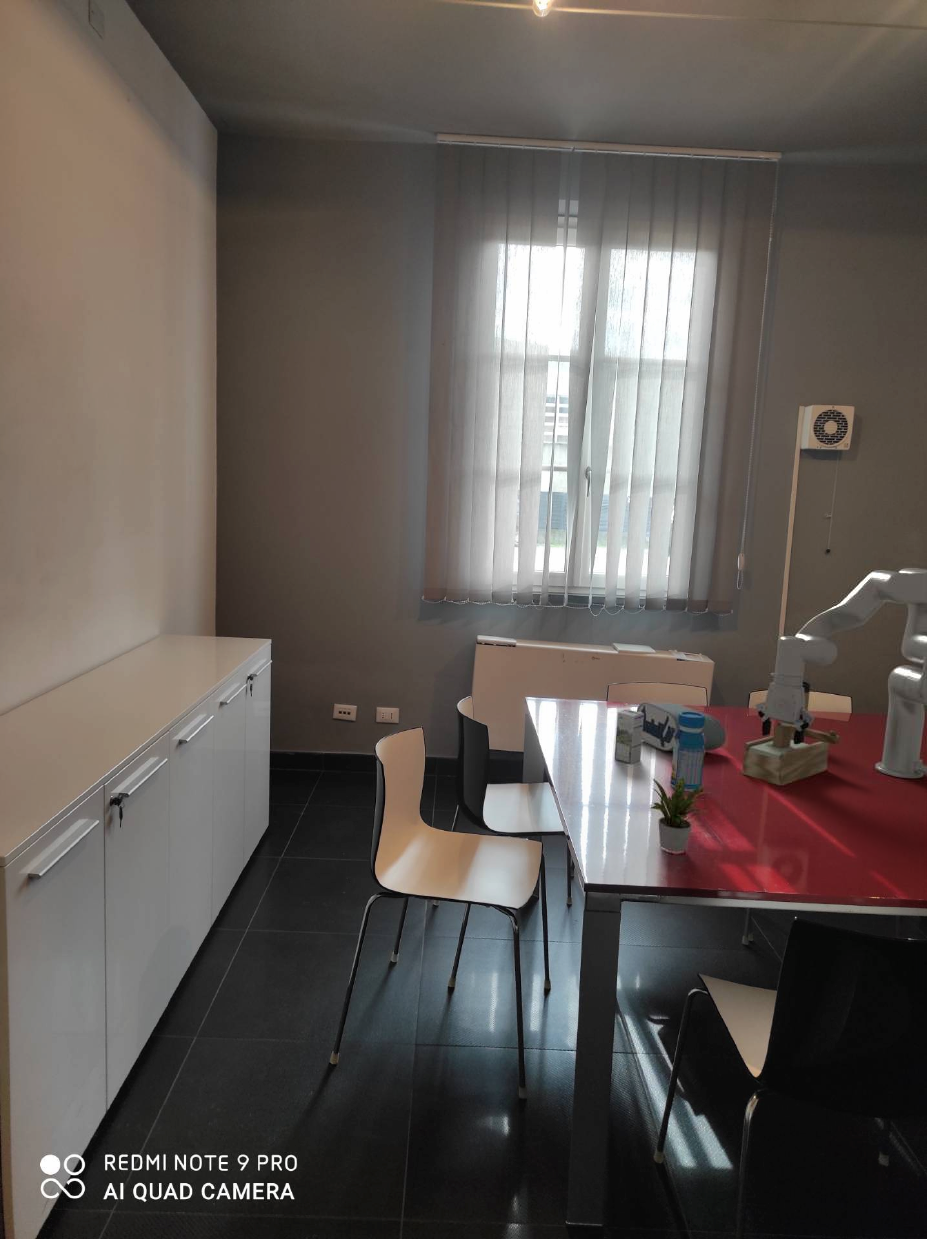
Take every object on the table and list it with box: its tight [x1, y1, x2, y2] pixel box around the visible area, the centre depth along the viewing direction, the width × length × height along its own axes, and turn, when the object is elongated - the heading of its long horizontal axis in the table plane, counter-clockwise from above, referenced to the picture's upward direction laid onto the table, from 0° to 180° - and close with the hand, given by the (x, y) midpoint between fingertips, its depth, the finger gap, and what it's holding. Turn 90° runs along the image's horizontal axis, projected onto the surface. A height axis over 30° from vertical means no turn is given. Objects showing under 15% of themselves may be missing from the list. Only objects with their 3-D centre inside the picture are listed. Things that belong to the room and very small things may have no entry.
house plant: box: [649, 777, 713, 851], centre depth 185 cm, size 14×14×16 cm
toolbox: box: [741, 733, 830, 786], centre depth 246 cm, size 12×25×9 cm, turn 130°
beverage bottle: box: [669, 712, 706, 792], centre depth 228 cm, size 8×8×20 cm
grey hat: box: [636, 702, 727, 752], centre depth 267 cm, size 22×19×13 cm
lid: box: [749, 724, 810, 760], centre depth 243 cm, size 9×18×7 cm, turn 130°
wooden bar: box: [777, 721, 841, 745], centre depth 252 cm, size 18×2×3 cm, turn 40°
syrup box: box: [613, 708, 644, 765], centre depth 249 cm, size 6×6×14 cm
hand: (781, 739), depth 243 cm, fingers open, 9 cm apart
